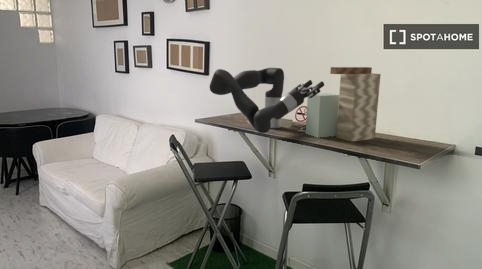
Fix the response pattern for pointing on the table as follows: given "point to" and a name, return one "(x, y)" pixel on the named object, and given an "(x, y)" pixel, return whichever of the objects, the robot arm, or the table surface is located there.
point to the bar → (351, 70)
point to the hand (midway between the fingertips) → (317, 82)
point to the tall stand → (358, 106)
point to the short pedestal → (322, 115)
